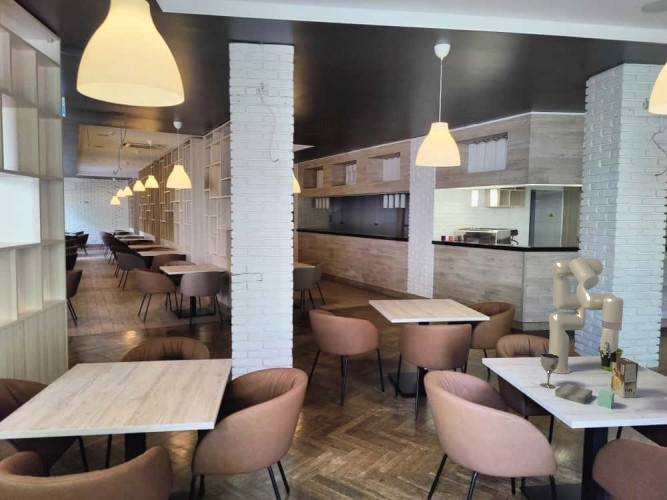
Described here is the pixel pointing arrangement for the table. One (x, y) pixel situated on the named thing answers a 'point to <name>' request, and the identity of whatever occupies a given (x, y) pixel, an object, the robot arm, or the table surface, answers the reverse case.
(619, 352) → the plant pot
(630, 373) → the coffee box
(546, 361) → the wine glass
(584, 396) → the base block
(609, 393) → the teal block
